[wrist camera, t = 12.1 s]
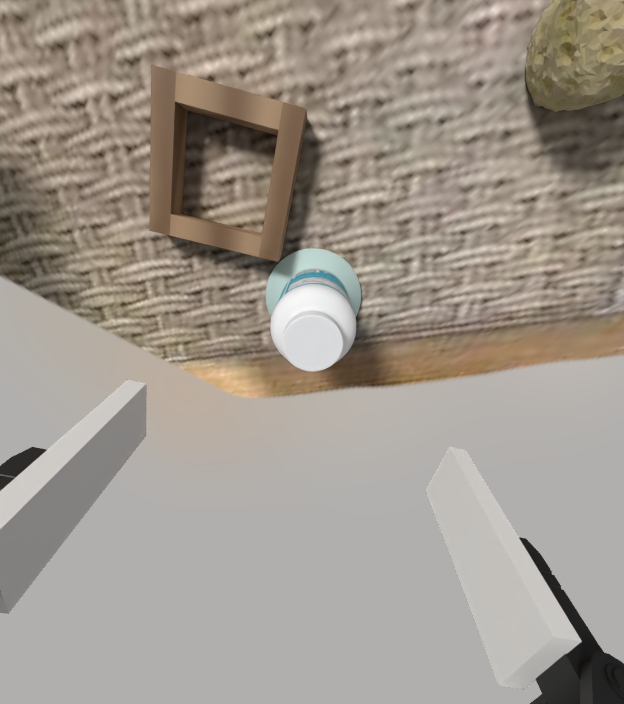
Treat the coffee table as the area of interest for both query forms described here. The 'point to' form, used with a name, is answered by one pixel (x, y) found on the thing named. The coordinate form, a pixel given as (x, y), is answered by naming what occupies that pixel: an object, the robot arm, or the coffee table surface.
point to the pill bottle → (313, 320)
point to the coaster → (312, 260)
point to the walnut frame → (170, 149)
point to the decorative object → (577, 54)
